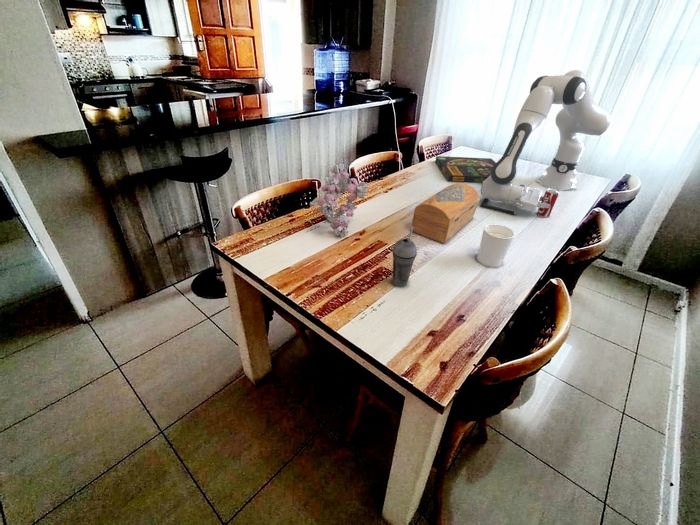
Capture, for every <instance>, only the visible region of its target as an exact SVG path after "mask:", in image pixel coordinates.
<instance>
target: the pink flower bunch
mask: <svg viewBox="0 0 700 525" xmlns="http://www.w3.org/2000/svg"><path fill="white" fill-rule="evenodd" d="M344 169H345V164H344V163H338V164H337V162H334V164H333V165H331V166H329V171H330V172H331V175H330V176H326V177H325V179H324V181H325V183H326V184H325V185H322V186H321V191H322V192H323V193H324V196H323V197H322V196H321V197H315V198H314V199H313V200H312V201H311V202H310V203H309V206H319V207H317V210H318V212H319V213H321V214H323V215H324V218H326V219H327V220H328V221H329V222H330V225H329V226H330V227H331V228H330V229H332V230H334V233H335V234H336V237H338V236H340V237H341V238H342V239H343V236H345V234H347V235H349V230H348V227H349V219H347V218H346V217H348V218H352V217H354V215H355V213H354V211H355V210H356V209H358V206H356V201H357V198H358V199H360V200H365V199H366V198H365V197H366V196H369V194H368V193H371V192H372V190H370V191H369V189H368V188H369V185H368V184H367V182H365V181H361V182H358V180H357V178H355V177H351V178H350V173H348V172H347V171H344ZM342 176H343V177H344V178H345V179H346V180H349V181H350V182H352V183H347V184H346V186H345V189H343V190H342ZM349 178H350V179H349ZM338 183H339V184H340V185H338ZM346 191H347V192H349V193H350V194H349V195H348V196H346V200H347V201H346V204H344V203H343V204H340V205H339V201H338V200H337V199H339V198H342V197H343V193H344V192H346ZM325 192H326V193H325ZM364 196H365V197H364ZM335 209H336V210H335Z"/></svg>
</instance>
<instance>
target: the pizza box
mask: <svg viewBox="0 0 700 525" xmlns="http://www.w3.org/2000/svg"><path fill="white" fill-rule="evenodd" d="M434 162H435V163H436V166H437V167H438V168H439V170H440V171H441V173H442V175H443V177H444V178H445V180H446V181H447V182H448V183H466V184H468V183H471V184H482V183H483V181H484V180H486V179H487V178H488V177H489V176H490V175H491V169H492V167H493V166H494V165H495V164H496V163H497V161H495V160H494V159H492V158H488V157H465V156H464V157H463V156H442V155H438V156H437V155H436V156H435V161H434ZM512 183H513V182H512ZM512 183H511V184H512ZM512 185H513V184H512Z"/></svg>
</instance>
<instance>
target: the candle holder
mask: <svg viewBox="0 0 700 525" xmlns="http://www.w3.org/2000/svg"><path fill="white" fill-rule="evenodd" d="M515 236H516V234H515V231H513V229H511V228H510V227H508V226H505V225H503V224H496V223H490V224H486V225H485V226H483V231H482V234H481V239H480V242H479V248H478V251H477V255H476V256H477V257H476V259H477V261H478V262H479V263H480V264H482V265H483V266H486V267H490V268H497V267H500V266H502V264H503V262H504V260H505V257H506V255H507V253H508V250H509V249H510V247H511V244H512V243H513V242H512V241H513V240H514V238H515Z"/></svg>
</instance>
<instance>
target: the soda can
mask: <svg viewBox="0 0 700 525" xmlns="http://www.w3.org/2000/svg"><path fill="white" fill-rule="evenodd" d="M559 192H560V190H557V189H553V188H547V189H546V191H545V192H544V194H543V196H544V197H543V199H542V201H540V202H541V203H549V204H550V206H549V208H538V209H537V211H536V215H537V216H538V217H539V218H544V219H547V218H549V217H550V215H551V213H552V211H553V209H554V207H555V205H556V202H557V200H558V197H559Z"/></svg>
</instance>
